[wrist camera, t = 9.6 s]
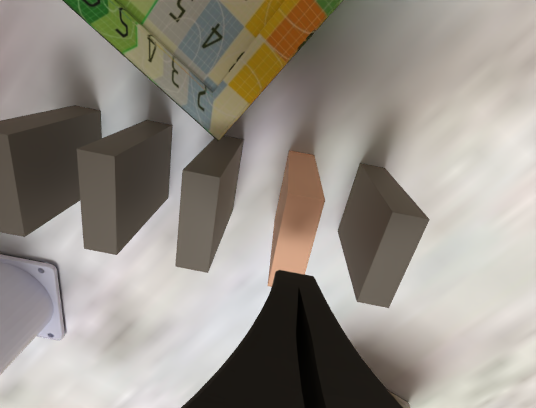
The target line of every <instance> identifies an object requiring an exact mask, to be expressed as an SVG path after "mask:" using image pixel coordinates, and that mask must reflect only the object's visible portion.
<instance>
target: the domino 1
mask: <svg viewBox="0 0 536 408" xmlns="http://www.w3.org/2000/svg"><path fill="white" fill-rule="evenodd" d="M100 139H102V135H101V111H100V110H95V109H90V108H85V107H80V106H70V107H65V108H60V109H55V110H50V111H46V112H41V113H36V114H31V115H26V116H21V117H17V118H12V119H7V120H2V121H0V232H2V233H7V234H13V235H18V236H23V237H25V236H27V235H28V234H30V233H31V232H33V231H34V230H36V229H37V228H39V227H40V226H42V225H43V224H45V223H46V222H48V221H49V220H51V219H52V218H54V217H55V216H57V215H58V214H60V213H61V212H63V211H64V210H66V209H68V208H69V207H71V206H72V205H74V204H75V203H77V202H78V201H80V187H79V174H78V160H77V149H78V148H80V147H83V146H85V145H87V144H90V143H92V142H95V141H97V140H100Z"/></svg>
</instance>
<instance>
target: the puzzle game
mask: <svg viewBox="0 0 536 408" xmlns="http://www.w3.org/2000/svg"><path fill="white" fill-rule="evenodd" d="M63 1H64V2H65V3H66V4H67V5H68V6H69V7H70V8H71V9H72V10H74V11H75V12H76V13H77V14H78V15H79V16H80V17H81V18H82V19H84V20H85V21H86V22H87V23H88V24H89V25H90V26H91V27H92V28H94V29H95V30H96V31H97V32H98V33H99V34H100V35H101V36H102V37H103V38H105V39H106V40H107V41H108V42H109V43H110V44H111V45H112V46H113V47H115V48H116V49H117V50H118V51H119V52H120V53H121V54H122V55H123V56H124V57H126V58H127V59H128V60H129V61H130V62H131V63H132V64H133V65H134V66H136V67H137V68H138V69H139V70H140V71H141V72H142V73H143V74H144V75H146V76H147V77H148V78H149V79H150V80H151V81H152V82H153V83H154V84H155V85H157V86H158V87H159V88H160V89H161V90H162V91H163V92H164V93H165V94H167V95H168V96H169V97H170V98H171V99H172V100H173V101H174V102H175V103H176V104H178V105H179V106H180V107H181V108H182V109H183V110H184V111H185V112H186V113H188V114H189V115H190V116H191V117H192V118H193V119H194V120H195V121H196V122H198V123H199V124H200V125H201V126H202V127H203V128H204V129H205V130H206V131H207V132H209V133H210V134H211V135H212V136H213V137H214V138H215V139H216V140H217V141H219V140H220V139H221V138H222V137H223V135H224V134H225V133H226V132H227V131H228V130H229V129H230V128H231V126H232V125H233V124H234V123H235V122H236V121H237V120H238V118H239V117H240V116H241V115H242V114H243V113H244V112H245V111H246V109H247V108H248V107H249V106H250V105H251V104H252V103H253V101H254V100H255V99H256V98H257V97H258V96H259V95H260V94H261V92H262V91H263V90H264V89H265V88H266V87H267V86H268V84H269V83H270V82H271V81H272V80H273V79H274V78H275V77H276V75H277V74H278V73H279V72H280V71H281V70H282V69H283V68H284V66H285V65H286V64H287V63H288V62H289V61H290V60H291V58H292V57H293V56H294V55H295V54H296V53H297V52H298V51H299V49H300V48H301V47H302V46H303V45H304V44H305V43H306V41H307V40H308V39H309V38H310V37H311V36H312V35H313V34H314V32H315V31H316V30H317V29H318V28H319V27H320V26H321V24H322V23H323V22H324V21H325V20H326V19H327V18H328V17H329V15H330V14H331V13H332V12H333V11H334V10H335V9H336V8H337V6H338V5H339V4H340V3H341V2H342V1H343V0H63Z"/></svg>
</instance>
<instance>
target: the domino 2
mask: <svg viewBox="0 0 536 408" xmlns="http://www.w3.org/2000/svg"><path fill="white" fill-rule="evenodd" d="M171 141H172V125H169V124H164V123H159V122H154V121H149V120H146V121H143V122H141V123H138V124H136V125H134V126H131V127H129V128H126V129H124V130H121V131H119V132H117V133H114V134H112V135H109V136H107V137H104V138H102V139H100V140H97V141H95V142H92V143H90V144H87V145H85V146H83V147H80V148H78V149H77V160H78V174H79V187H80V200H81V214H82V227H83V240H84V249H89V250H94V251H99V252H105V253H110V254H115V255H117V254H118V253H119V252H120V251H121V250H122V249H123V247H124V246H125V245H126V244H127V243H128V242H129V241H130V240H131V239H132V237H133V236H134V235H135V234H136V233H137V232H138V231H139V230H140V229H141V227H142V226H143V225H144V224H145V223H146V222H147V221H148V220H149V219H150V217H151V216H152V215H153V214H154V213H155V212H156V211H157V210H158V209H159V207H160V206H161V205H162V204H163V203H164V202H165V201H166V200H167V199H168V195H169V177H170V159H171Z"/></svg>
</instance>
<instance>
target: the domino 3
mask: <svg viewBox="0 0 536 408" xmlns="http://www.w3.org/2000/svg"><path fill="white" fill-rule="evenodd" d="M243 141H244V140H243V139H238V138H233V137H228V136H224V135H223V137H222V138H221V139H220V140H219V141H217V140H216V139H215V138H214V139H213V140H212V141H211V142H210V143H209V144H208V145H207V146H206V147H205V148H204V149H203V150H202V151H201V152H200V153H199V154H198V155H197V156H196V157H195V158H194V159H193V160H192V161H191V162H190V163H189V164H188V165H187V166H186V167H185V168H184V169H183V173H182V186H181V200H180V213H179V227H178V240H177V253H176V267H181V268H186V269H192V270H197V271H202V272H207V273H208V271H209V269H210V266H211V264H212V261H213V259H214V256H215V254H216V251H217V249H218V246H219V244H220V241H221V239H222V236H223V234H224V231H225V229H226V226H227V224H228V221H229V219H230V216H231V214H232V211H233V206H234V199H235V193H236V186H237V180H238V173H239V167H240V160H241V154H242V147H243Z"/></svg>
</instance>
